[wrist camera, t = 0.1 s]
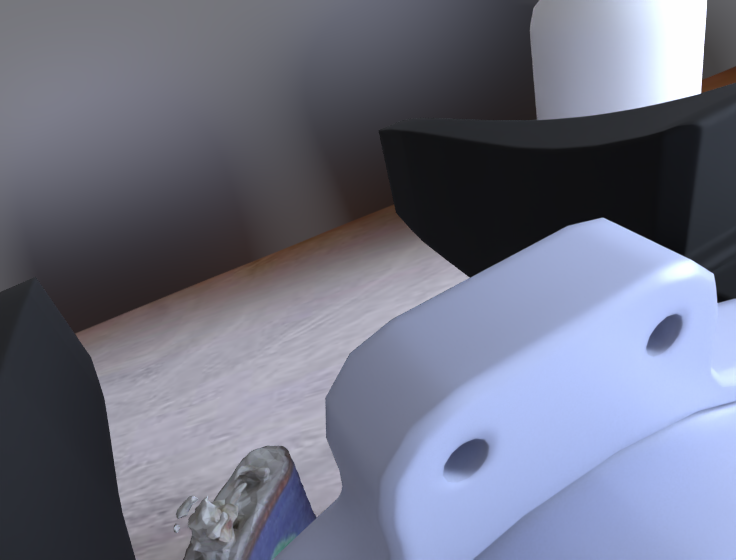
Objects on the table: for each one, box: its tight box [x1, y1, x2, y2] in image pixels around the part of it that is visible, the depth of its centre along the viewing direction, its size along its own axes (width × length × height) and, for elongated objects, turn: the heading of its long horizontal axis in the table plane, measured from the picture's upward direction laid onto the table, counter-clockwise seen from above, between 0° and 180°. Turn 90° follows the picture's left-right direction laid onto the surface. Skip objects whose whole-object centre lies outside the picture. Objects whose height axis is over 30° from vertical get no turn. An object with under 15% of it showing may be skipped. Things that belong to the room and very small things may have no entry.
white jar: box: [530, 0, 707, 120], centre depth 48 cm, size 12×12×20 cm
